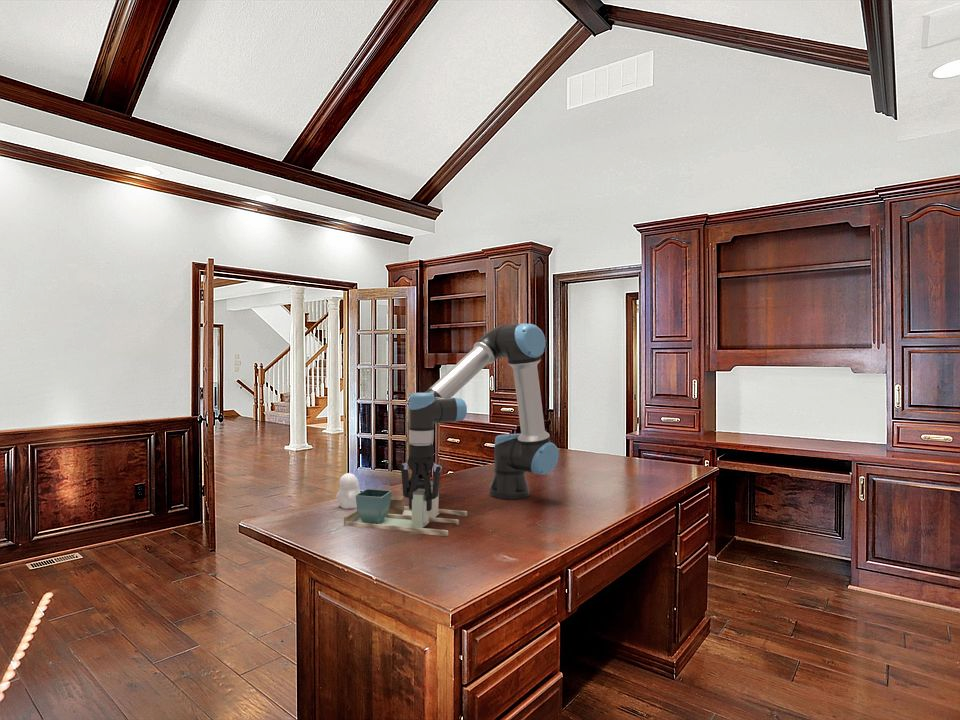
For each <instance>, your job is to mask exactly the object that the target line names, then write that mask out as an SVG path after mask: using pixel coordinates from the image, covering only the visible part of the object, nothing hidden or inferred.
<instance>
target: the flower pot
mask: <svg viewBox="0 0 960 720" xmlns="http://www.w3.org/2000/svg"><path fill="white" fill-rule="evenodd" d="M391 496H392V490H387V489H386V490H385V489H374V488H365V489H364V490H362V491H360V493H359V494H357V495H356V504H357V508H356V510H357V511H358V514H359V517H360V518H359V519H361V520H362V521H363V522H364V523H375V524H378V523H380V522H381V521H382V520H384V518H387V517H386V515H387V513H388V510H389V507H390V502H391Z"/></svg>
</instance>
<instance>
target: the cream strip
mask: <svg viewBox="0 0 960 720" xmlns="http://www.w3.org/2000/svg"><path fill="white" fill-rule="evenodd" d="M430 482H431V490H432V489H433V480H430ZM439 494H440V492H439V491H438V497H436V498H435V499H432V509H431V510H430V511H429V517H434V518H437V516H438V515H440V514H441V513H438V509H439V500H440V499H439V496H440V495H439ZM402 515H411V516H412V511H410V510H404V512H403V514H402Z"/></svg>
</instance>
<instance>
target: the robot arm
mask: <svg viewBox="0 0 960 720" xmlns="http://www.w3.org/2000/svg"><path fill="white" fill-rule="evenodd" d="M546 344H547V342H546V337H545V334H544V332H543V330H542V329H541V328H539V326H537V325H535V324H533V323H525V322H524V323H514V324H501V325H498V326H496V327H494V328H493V329H491V330H489V331H488V332H486V333H485V334H484V335H482V336H481V337H480V338H479V339H478V340H477V341H476V342H475V343H474V344H473V348H472V349H471V350H469V352H467V353H466V354H465V355H464V357H462V358H461V359H460V360H459V361H457V363H456V364H454V366H453V367H451V368H450V369H449V370H448V371H447V372H445V374H443V375H442V377H440V378H439V379H438V380H437V381H435V383H434V384H433V385H431V386H430V387H429V388H428V389H427V390H426V391H424V392H413V393H411V394H410V396H409V401H408V404H407V407H408V413H409V414H408V415H409V416H408V421H409V422H408V424H409V425H408V443H409V445H408V459H407V460H406V461H407V462H403V463H401V464H400V465H399V466H398V467H399V469H400V472H401V482H402V483H401V484H402V485H401V486H402V496H404V498H406V499H408V507H409V509H410V510H412V521H413V492H414V491H416V487H417V481H418V478H419V476H422V479H424V487H425V494H426V499H425V500H424V516H423V522H425V523H426V522H427V521H428V520H429V511H430V510H431V509H432V499H435V498H436V497H438V491H439V490H440V480H441V472H442V471H443V465H439V464H437V463H436V461H435V460H434V452H435V451H434V450H435V449H434V441H435V440H434V439H435V437H434V436H435V432H434V431H435V424H439V423H452V422H453V423H456V422H461V421H463V420H464V419H465V418H466V417H467V414H468V410H467V409H468V405H467V404H466V402H465V400H464V399H463V398H461V397H454V396H455V395H456V394H458V392H459V391H460V390H462V388H464V386H465V385H467V384H468V383H469V382H470V381H471V380H472V379H473V378H474V377H476V375H477V374H478V373H479V372H481V371H482V370H483V369H484V368H485V367H486V366H487V365H491V364H493V363H495V361H497V360H498V359H501V358H506V359H507V364H508V366H509V367H511V368H512V371H513V378H514V379H513V380H514V387H515V394H516V395H515V396H516V402H517V411H518V417H519V418H518V419H519V425H520V426H519V427H520V433H508V434H498V435H496V436H495V439H494V446H493V447H494V453H493V454H494V455H493V458H494V460H493V463H494V464H493V465H494V467H493V468H494V470H493V471H494V473H493V476H492V480H491V483H490V486H489V493H488V494H489V496H490V497H492V498H496V499H501V500H520V499H521V500H522V499H525V498H528V497H529V496H530V487H529V484H528V481H527V477H526V472H527V473H530V474H531V473H532V474H534V475H542V476H543V475H548V474H549V473H551V472H553V471H554V469H555V468H556V465H557V464H558V460H559V457H560V455H559V454H560V453H559V448H558V446H556V444H555V443H553V442H551V436H550V433H549V432H547V431H546V428H545V427H546V426H545V420H544V412H543V404H542V394H541V387H540V379H539V370H538V364H539V363H540V362H541V361H542V357H541V356H542V355H543V354H544V352H545V349H546V347H547V345H546ZM409 468H410V469H409ZM432 469H433V472H434V473H433V480H432V481H433V489H432V490H431V482H430V481H431V470H432ZM409 470H411V477H412V479H411V478H410V475H409ZM409 479H411V486H410V491H409ZM410 510H409V511H410Z"/></svg>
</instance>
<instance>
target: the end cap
mask: <svg viewBox="0 0 960 720" xmlns="http://www.w3.org/2000/svg"><path fill="white" fill-rule="evenodd" d="M411 479H412V476H410V478H409V491H410V486H411ZM417 489H425V487H424V479H423V478H421V477H420V478H419V477H418V481H417V487H416V490H417Z"/></svg>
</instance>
